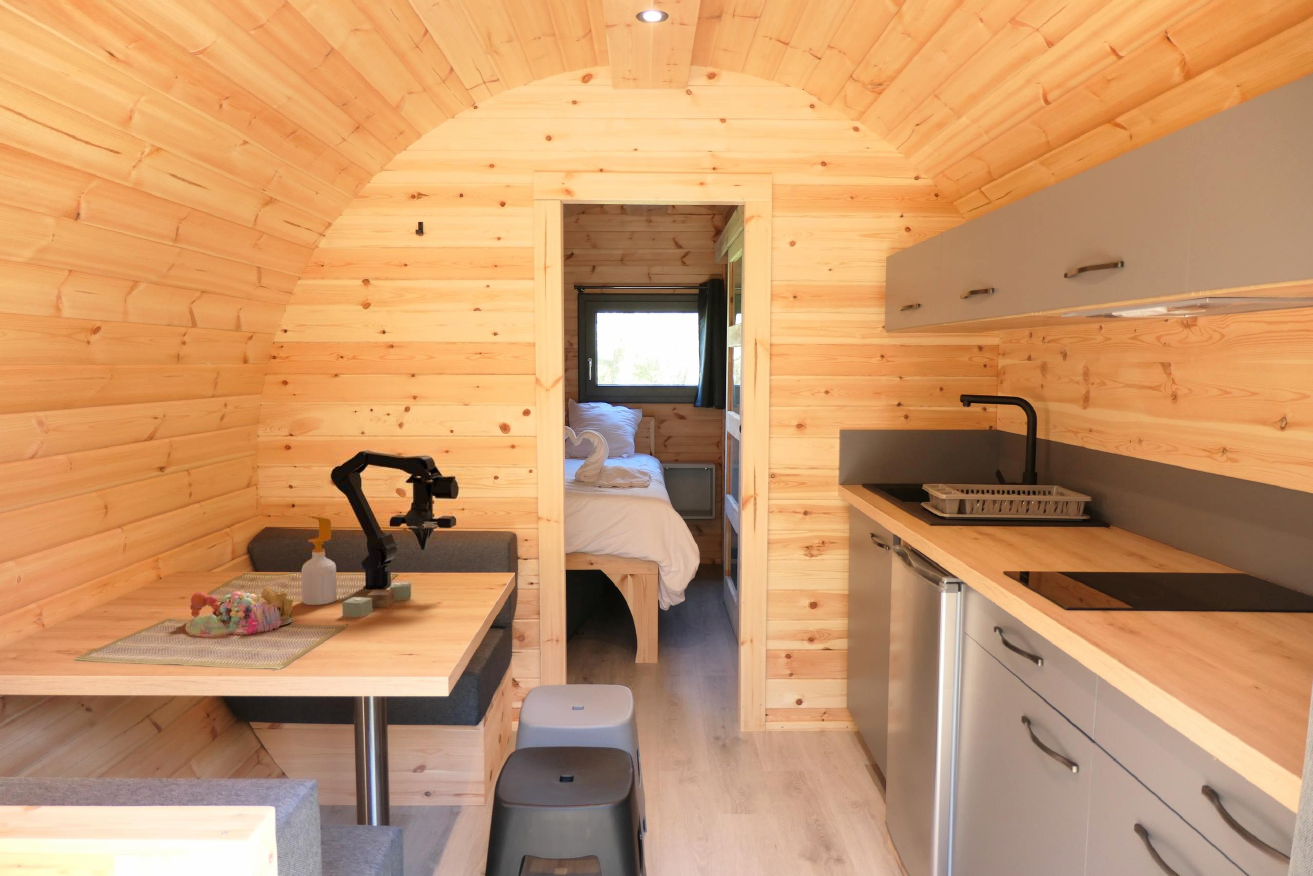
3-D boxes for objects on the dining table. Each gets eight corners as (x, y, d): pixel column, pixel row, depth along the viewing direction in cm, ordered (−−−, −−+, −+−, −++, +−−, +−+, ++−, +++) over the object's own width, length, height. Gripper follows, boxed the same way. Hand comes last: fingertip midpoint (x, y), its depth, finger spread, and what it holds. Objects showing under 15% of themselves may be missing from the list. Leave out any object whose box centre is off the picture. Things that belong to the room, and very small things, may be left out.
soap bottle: (295, 603, 235) (293, 516, 233) (319, 595, 244) (317, 512, 242) (319, 607, 232) (318, 519, 230) (343, 599, 240) (342, 514, 239)
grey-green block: (342, 617, 223) (342, 601, 223) (354, 611, 229) (353, 596, 228) (361, 618, 222) (361, 602, 222) (372, 612, 228) (372, 597, 227)
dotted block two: (390, 601, 239) (390, 586, 239) (391, 596, 245) (391, 582, 244) (410, 600, 241) (410, 585, 240) (411, 595, 246) (411, 581, 246)
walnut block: (367, 608, 231) (367, 594, 231) (374, 603, 237) (374, 589, 236) (387, 609, 231) (387, 594, 231) (394, 603, 237) (394, 589, 236)
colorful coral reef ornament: (273, 607, 233) (272, 574, 233) (309, 624, 217) (308, 589, 216) (173, 625, 215) (172, 589, 215) (204, 646, 199) (203, 607, 198)
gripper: (381, 501, 243) (382, 554, 244) (443, 502, 241) (444, 556, 242) (396, 496, 254) (397, 546, 255) (456, 497, 252) (457, 548, 253)
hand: (423, 549), depth 251 cm, fingers closed
